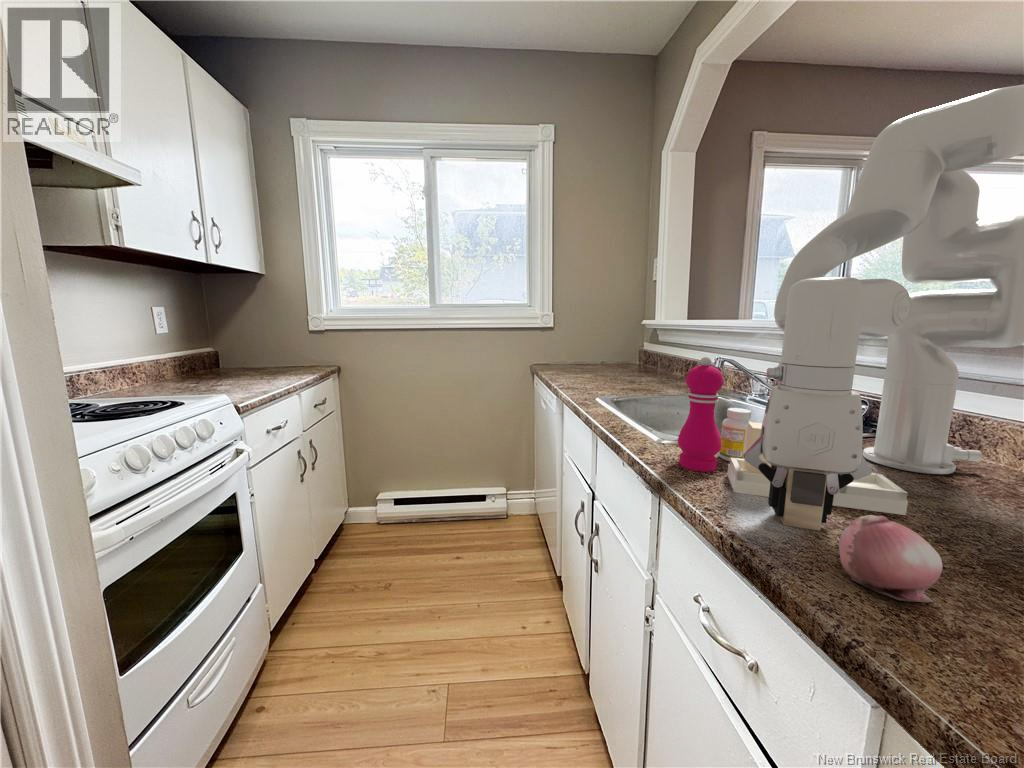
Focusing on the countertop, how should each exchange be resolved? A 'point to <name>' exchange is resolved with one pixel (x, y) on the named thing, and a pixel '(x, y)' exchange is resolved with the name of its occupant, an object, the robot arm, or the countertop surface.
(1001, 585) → the countertop surface
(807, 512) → the block
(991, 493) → the countertop surface
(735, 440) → the supplement bottle
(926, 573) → the pink shallot
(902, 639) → the countertop surface
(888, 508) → the rail
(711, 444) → the pepper mill
